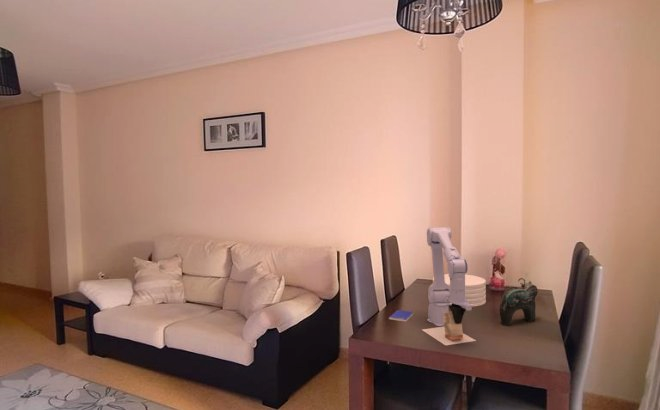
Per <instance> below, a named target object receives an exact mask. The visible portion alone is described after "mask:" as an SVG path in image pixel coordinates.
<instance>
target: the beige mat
mask: <svg viewBox="0 0 660 410" xmlns="http://www.w3.org/2000/svg"><path fill="white" fill-rule="evenodd" d="M422 332H425V334H427V335H429V336H430V337H431V338H433V339H435V340H436V341H438V342H439V343H441V344H442V345H444V346H450V345H451V346H452V345H457V344H464V343H471V342H476V341H477V340H476V339H474V338H473V337H470V336H469V335H468V334H465V333H463V339H457V340H451V339H448V338H445V329H444V326H437V327H431V328H430V327H429V328H424V329H422Z"/></svg>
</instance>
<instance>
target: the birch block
mask: <svg viewBox="0 0 660 410" xmlns="http://www.w3.org/2000/svg"><path fill="white" fill-rule="evenodd" d="M443 318H444V325H443V327H444V329H445V338H448V339H451V340H457V339H463V334H464V332H463V322H461V324H456V323H455V321H454V318H453V314H452V312H451V310H450V311H449V312H443Z"/></svg>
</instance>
